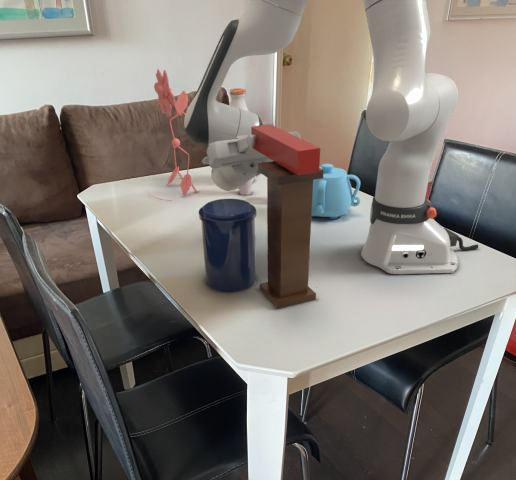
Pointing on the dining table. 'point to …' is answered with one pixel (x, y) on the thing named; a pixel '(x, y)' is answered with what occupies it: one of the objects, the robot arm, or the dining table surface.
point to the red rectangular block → (287, 149)
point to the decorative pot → (333, 193)
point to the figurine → (181, 104)
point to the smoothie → (246, 188)
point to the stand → (288, 234)
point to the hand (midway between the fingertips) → (267, 136)
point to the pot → (229, 244)
